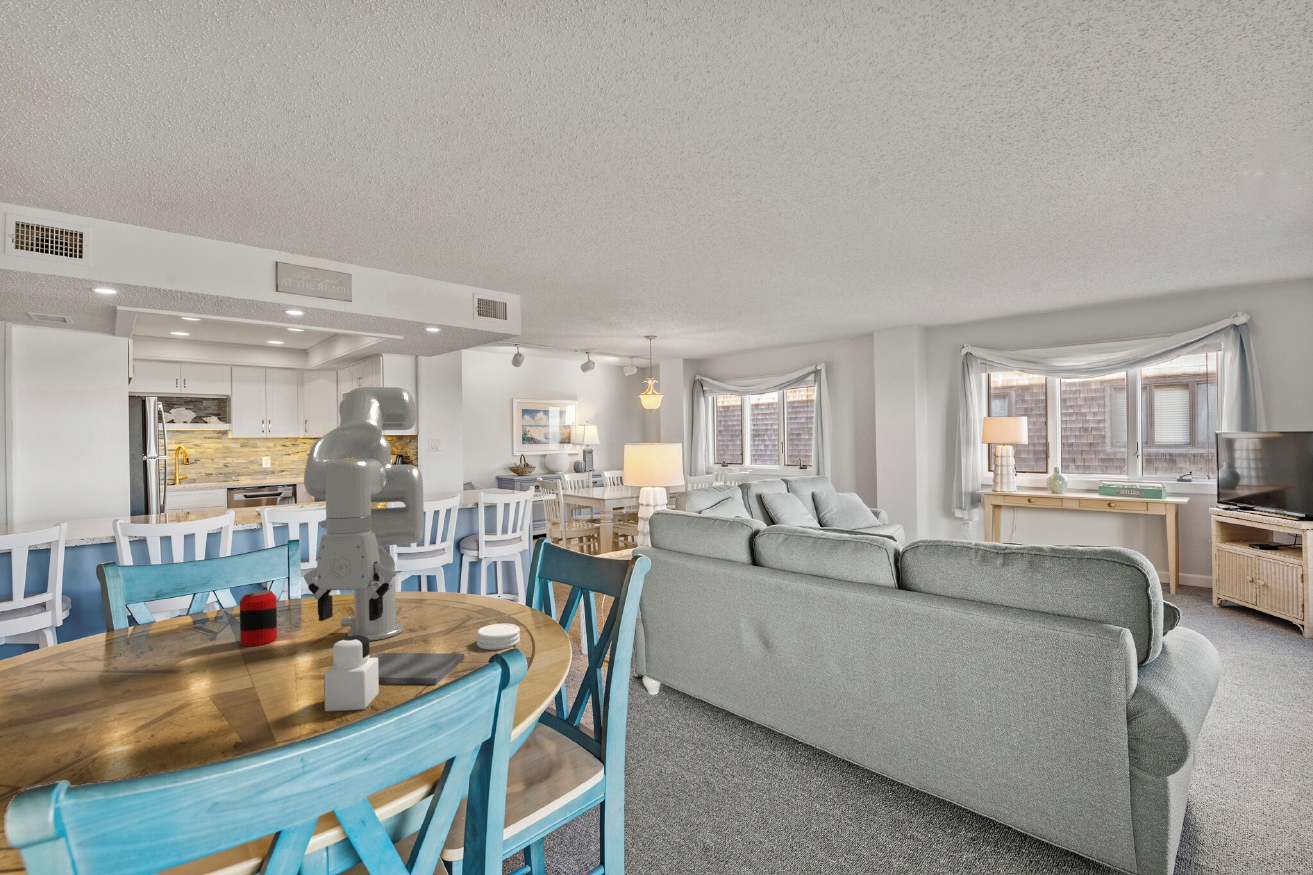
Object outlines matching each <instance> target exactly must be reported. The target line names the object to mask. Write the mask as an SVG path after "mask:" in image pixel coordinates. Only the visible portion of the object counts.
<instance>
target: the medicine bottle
mask: <svg viewBox="0 0 1313 875" xmlns="http://www.w3.org/2000/svg"><path fill="white" fill-rule="evenodd" d="M332 647H333V648H332V649H333V650H332V656H333V665H332V666H330V667H329V668H328V669H327V670H326V671H325V672H324V673H323V685H324V686H323V690H324V691H323V693H324V694H323V697H324V699H323V700H324V711H325V712H341V711H343V712H344V711H362V710H363V711H364V710H365V709H367V707H368V706H369V705H370V704H371V703H372V702H373V700H375V699H376V697H377V696H378V695H379V693H380V689H379V688H380V686H379V684H380V683H379V678H378V658H370V657H371V656H370V641H369V639H368V638H367V637H365V636H361V635H354V636H348V635H347V636H344V637H342V638H339V639H338V640H336V641H335V642H334V643H333V645H332Z"/></svg>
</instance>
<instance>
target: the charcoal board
mask: <svg viewBox="0 0 1313 875" xmlns="http://www.w3.org/2000/svg"><path fill="white" fill-rule="evenodd" d="M370 658H378V678H379V684H383V685H384V684H388V685H389V684H391V685H392V684H394V685H395V684H396V685H437V684H438V683H440V682H441V680H442V679H444V678H445V677H446V676H448V674H449V673H451V672H452V671H453V670H454V669H455V668H456V667H457V666H458V665H459V664H460V663H462V662H463V661H464V659H465V653H448V652H446V653H444V652H442V653H441V652H440V653H438V652H437V653H435V652H433V653H430V652H425V653H424V652H376V653H375V654H373V655H372V656H370Z"/></svg>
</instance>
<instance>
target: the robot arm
mask: <svg viewBox="0 0 1313 875" xmlns="http://www.w3.org/2000/svg"><path fill="white" fill-rule="evenodd" d="M338 405H339V407H338V411H339V412H338V413H339V416H340V423H339V426H337V427H336V428H334V429H332V430H331V431H329V432H327V433H326V434H324V435H323V436H321V437H320V438H318V440H316V441H315V442H314V443H313V445H312V446H311V448H310V450H309V452H308V456H307V458H306V459H307V460H306V464H305V468H304V474H303V475H304V476H303V485H304V488H305V491H306V492H307V494H309V495H310V496H311V497H314V498H317V499H325V520H321V522H320V528H321V529H322V528H323V529H325V533H326V534H323V535H321V538H320V542H319V547H318V552H317V553H318V554H317V563H316V568H314V569H312V570H310V571H309V572H306V574H304V575H303V579H304V581H305V583H306V585H307V588H308V590H309V591H310V593H312V594H313V597H314V598H315V600H317V615H318V621H319V622H323V621H326V620H328V619H331V618H332V617H333V609H334V608H333V596H332V595H330V594H331V593H332V591H353V593H354V594H353V595H354V596H353V597H354V599H353V600H354V602H353V604H354V616H342V619H341V621H340V626H341V627H349V628H350V630H348V632H347V637H348V636H354V635H361V636H365V637H367V638H368V639H369V642H372V641H378V640H382V639H387V638H390V637H394V636H397V635H399V634H400V633H401V632H402V631H403V630H404V629H403V628H404V627H403V624H402V623H401V622H397V615H396V614H397V612H396V611H397V607H396V606H397V604H396V603H397V602H396V599H397V598H396V577H397V573H396V562H395V560H394V558H393V556H392V555H391V554H390V552H388V551H387V550H386V549H385V548H384V547H386V546H395V545H397V546H399V545H410V544H417V543H418V542H420V541H421V540H422V539H423V537H424V532H425V515H424V514H425V513H424V512H425V508H424V507H425V506H424V483H423V475H422V472H421V470H420V468H419V467H417V466H416V465H415V464H414V465H412V464H392V452H391V451H392V447H391V443H390V441H388V440H387V438H386V437H385V436H384V435H383V431H408V430H411V429H413V427H414V426H415V423H416V420H417V407H416V404H415V400H414V398H413V396H412V394H411V393H410V391H409V390H407V389H406V388H403V387H395V386H394V387H393V386H391V387H387V386H386V387H385V386H384V387H379V386H364V387H363V386H362V387H357V388H354V389H352V390H350V391H349V392H348V393H346V396H345V398H344V399H342V400H341V401H340V403H339V404H338ZM352 457H354V458H352ZM374 503H375V504H377V503H379V504H380V503H383V504H384V503H403V504H404V505H405V506H401V507H400V506H399V507H398V506H397V507H376V508H375V507H373V508H372V504H374Z"/></svg>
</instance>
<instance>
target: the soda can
mask: <svg viewBox="0 0 1313 875" xmlns="http://www.w3.org/2000/svg"><path fill="white" fill-rule="evenodd" d="M277 608H278V607H277V595H276V594H275V593H273V591H272V590H269V589H268V590H267V589H265V590H264V589H263V590H254V591H250V592H249V591H248V592H246V593H245V594H244V595H243V596H242V598H241V599H240V600H239V632H240V634H239V636H240V637H239V640H240V645H243V646H242V647H245V646H246V648H254V647H261V646H264V645H268V644H272V643H273V642H275V641H276V640H277V639H278V619H277V618H278V617H277V616H278V613H277V612H278V611H277V610H278V609H277ZM260 645H261V646H260Z"/></svg>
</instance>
